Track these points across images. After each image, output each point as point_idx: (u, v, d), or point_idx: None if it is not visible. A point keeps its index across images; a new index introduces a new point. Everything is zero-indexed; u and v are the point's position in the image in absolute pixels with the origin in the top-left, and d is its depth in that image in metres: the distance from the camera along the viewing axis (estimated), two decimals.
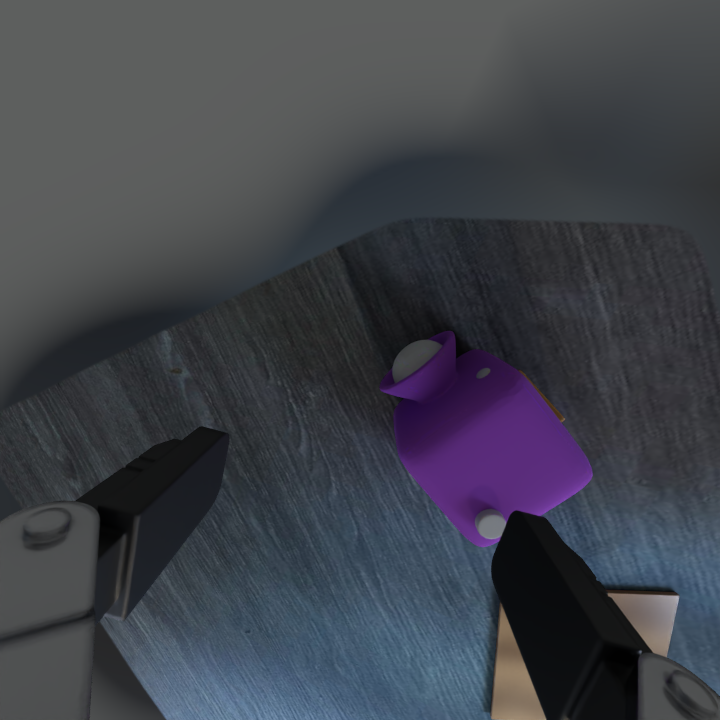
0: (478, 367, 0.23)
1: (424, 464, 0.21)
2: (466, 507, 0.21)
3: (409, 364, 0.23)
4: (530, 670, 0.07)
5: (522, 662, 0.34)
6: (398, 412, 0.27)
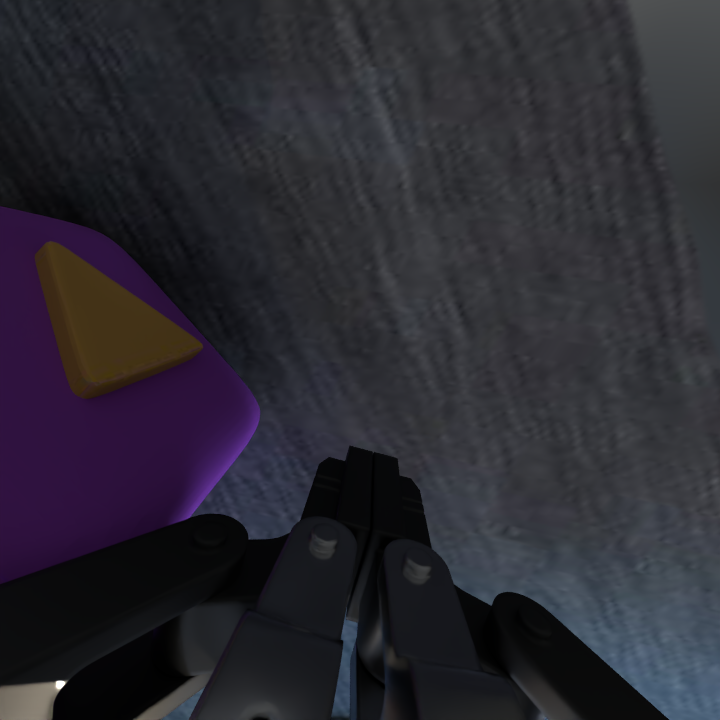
0: None
1: None
2: None
3: None
4: None
5: None
6: None
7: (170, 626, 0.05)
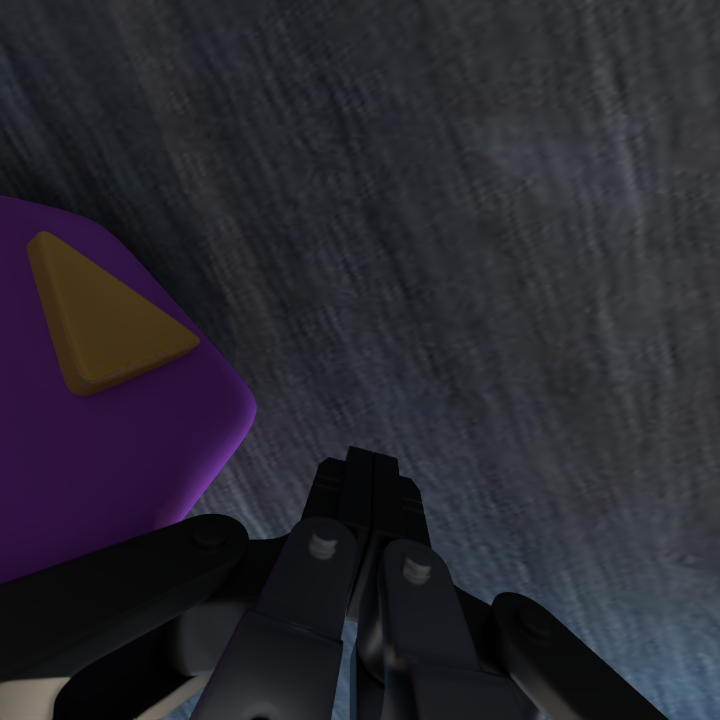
0: None
1: None
2: None
3: None
4: None
5: None
6: None
7: (171, 626, 0.05)
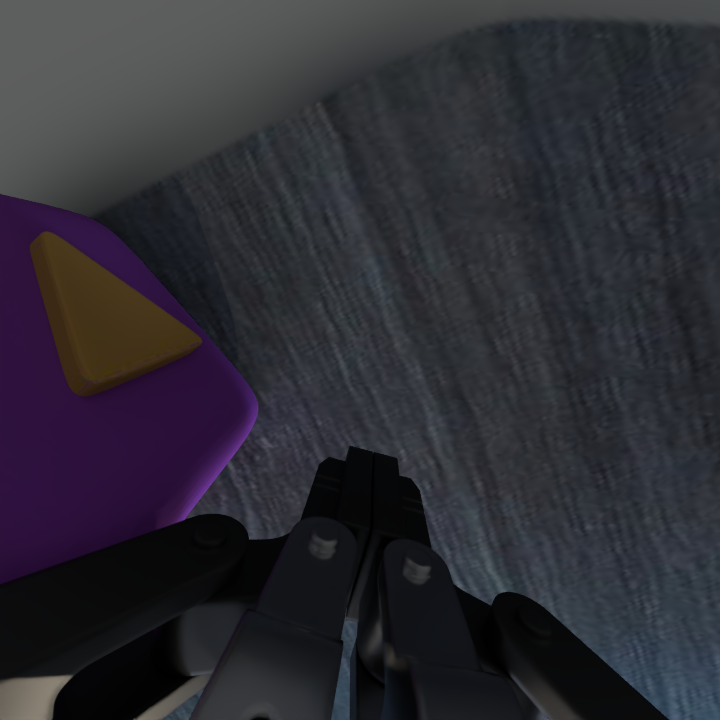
0: None
1: None
2: None
3: None
4: None
5: None
6: None
7: (170, 626, 0.05)
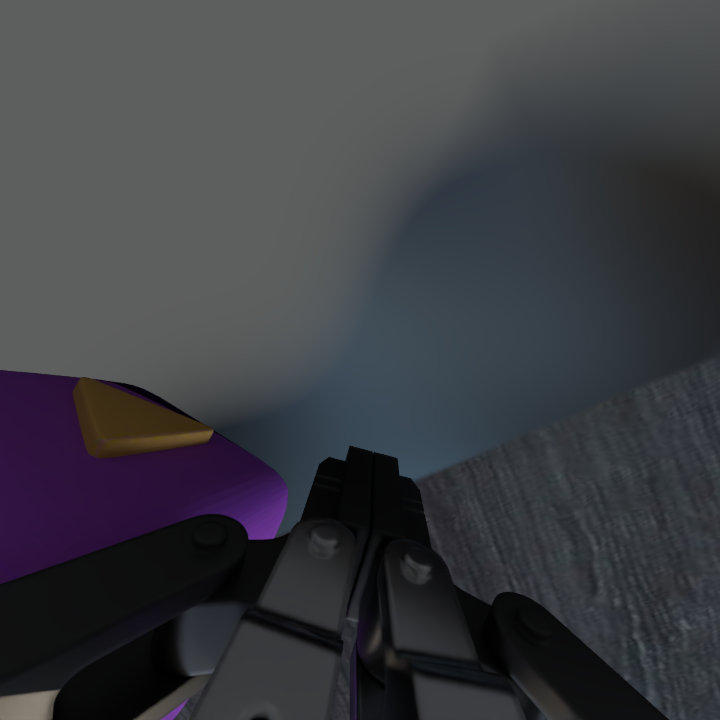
0: None
1: None
2: None
3: None
4: None
5: None
6: None
7: (170, 626, 0.05)
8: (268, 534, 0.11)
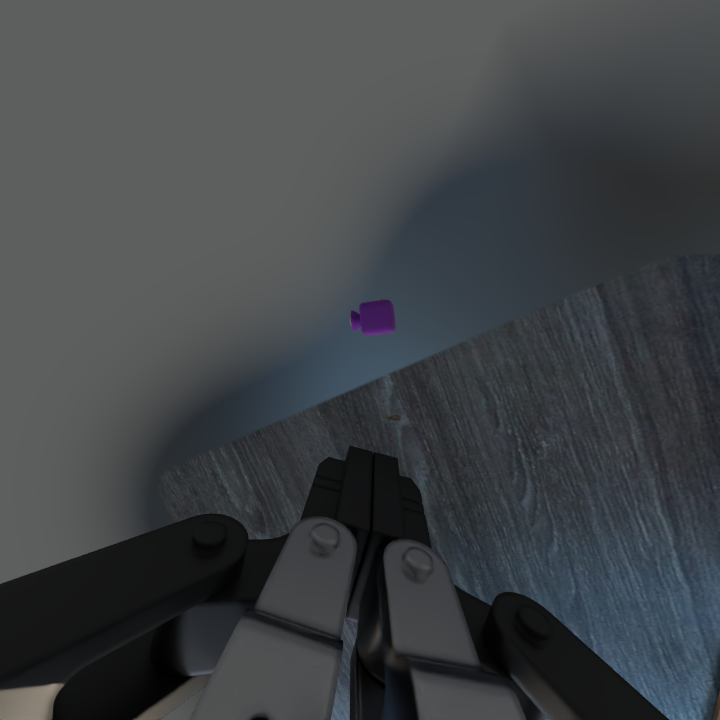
0: None
1: (364, 302, 0.99)
2: None
3: (351, 315, 1.02)
4: None
5: None
6: (360, 324, 0.99)
7: (170, 626, 0.05)
8: None
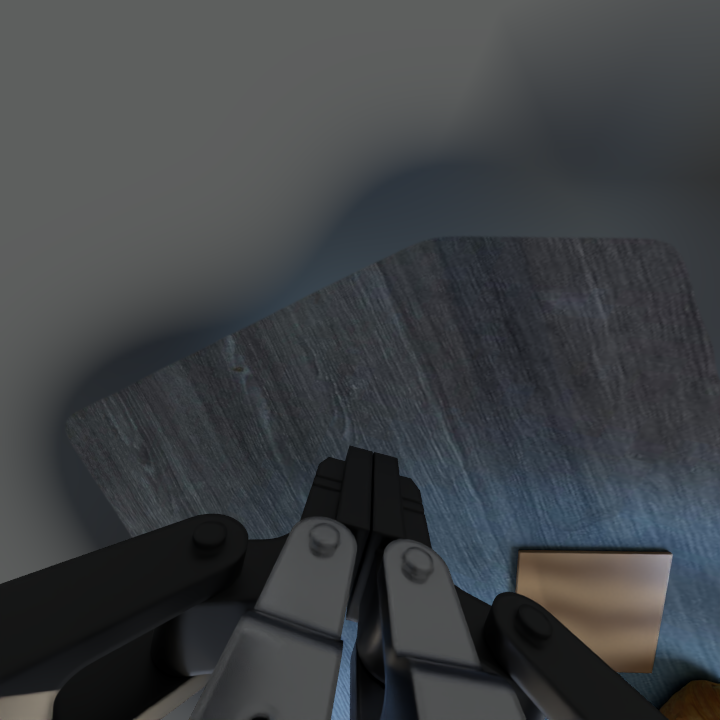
0: None
1: None
2: None
3: None
4: None
5: None
6: None
7: (170, 626, 0.05)
8: None
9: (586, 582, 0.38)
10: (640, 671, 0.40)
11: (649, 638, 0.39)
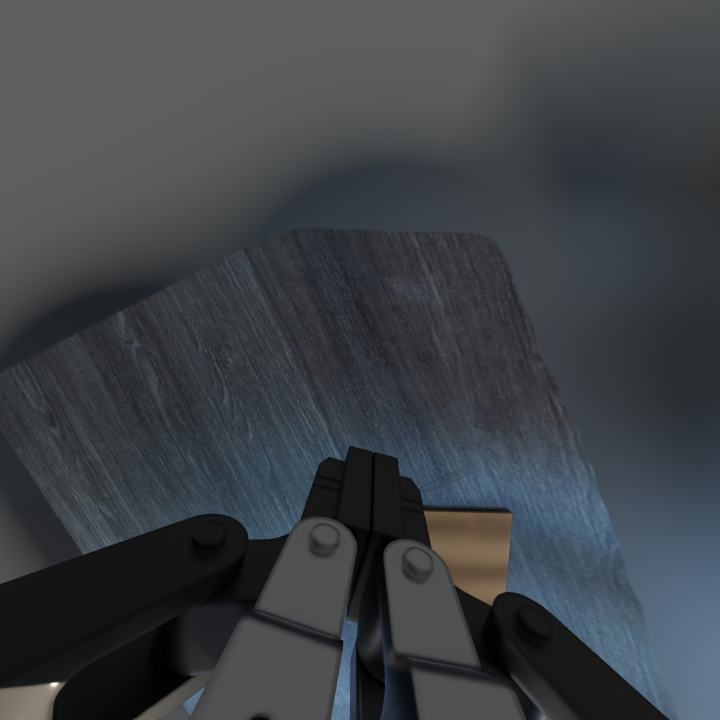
0: None
1: None
2: None
3: None
4: None
5: None
6: None
7: (170, 626, 0.05)
8: None
9: (439, 538, 0.43)
10: None
11: (497, 589, 0.44)
